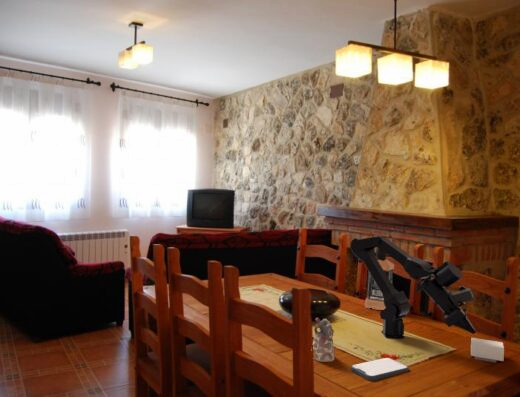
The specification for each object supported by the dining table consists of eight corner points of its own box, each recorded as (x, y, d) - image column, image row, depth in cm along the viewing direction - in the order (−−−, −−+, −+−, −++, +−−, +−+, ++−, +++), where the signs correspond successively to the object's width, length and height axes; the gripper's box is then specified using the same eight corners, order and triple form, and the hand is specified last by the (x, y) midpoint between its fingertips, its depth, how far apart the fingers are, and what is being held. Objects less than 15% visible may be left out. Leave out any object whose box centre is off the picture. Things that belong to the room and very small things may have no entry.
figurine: (329, 363, 126) (330, 323, 126) (307, 358, 130) (308, 319, 130) (338, 356, 132) (339, 318, 132) (317, 351, 136) (318, 314, 136)
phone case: (387, 361, 131) (348, 370, 123) (387, 356, 131) (348, 365, 123) (410, 372, 123) (370, 383, 115) (411, 367, 123) (371, 377, 115)
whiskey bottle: (393, 307, 193) (396, 236, 193) (387, 311, 185) (389, 238, 184) (371, 303, 199) (373, 234, 198) (364, 307, 190) (366, 236, 190)
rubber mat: (474, 358, 134) (474, 357, 134) (474, 350, 141) (474, 349, 141) (496, 362, 131) (496, 361, 131) (494, 354, 138) (494, 352, 138)
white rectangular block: (471, 343, 135) (503, 348, 131) (471, 337, 140) (502, 342, 136) (470, 355, 135) (503, 361, 131) (470, 349, 140) (502, 354, 136)
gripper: (457, 284, 131) (497, 326, 126) (458, 274, 148) (494, 311, 143) (429, 306, 134) (466, 347, 130) (433, 294, 151) (467, 330, 146)
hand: (474, 332), depth 137 cm, fingers closed
